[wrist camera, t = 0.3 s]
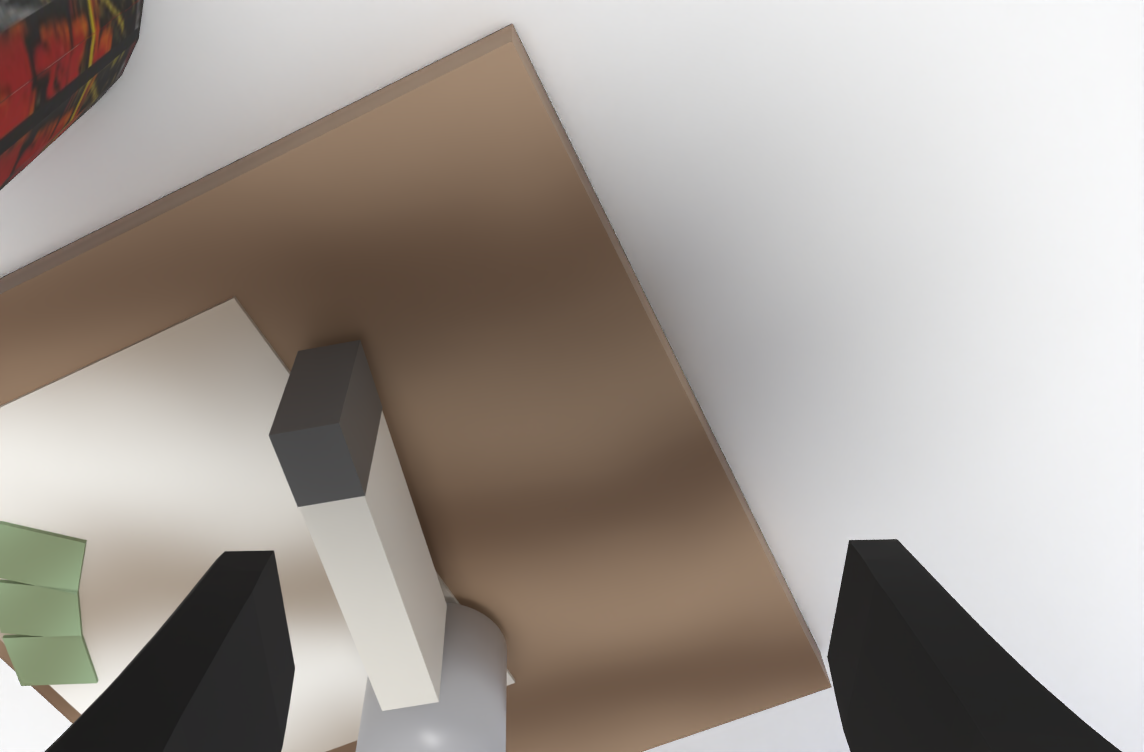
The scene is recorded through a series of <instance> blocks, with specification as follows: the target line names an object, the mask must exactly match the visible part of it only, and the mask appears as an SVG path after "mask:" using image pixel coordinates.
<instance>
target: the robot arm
mask: <svg viewBox="0 0 1144 752" xmlns="http://www.w3.org/2000/svg"><path fill="white" fill-rule="evenodd" d="M827 657H828V662H829V667H830V672H831V677H832V681H833V686H834V691H835V696H836V700H837V704H838V709H839V713H840V717H841V722H842V726H843V730H844V734H845V737H846V739H847V742H848V745H849V748H850V751H851V752H1121V751H1120V750H1119V749H1118V748H1116V747H1115V746H1114V745H1112V744H1111V743H1110V742H1108V741H1107V740H1106V739H1105V738H1103V737H1102V736H1101V735H1100V734H1099V733H1097V732H1096V731H1095V730H1094V729H1092V728H1091V727H1090V726H1089V725H1088V724H1086V723H1085V722H1084V721H1083V720H1082V719H1080V718H1079V717H1078V716H1077V715H1076V714H1075V713H1073V712H1072V711H1071V710H1070V709H1069V708H1068V707H1067V706H1065V705H1064V704H1063V703H1062V702H1061V701H1060V700H1059V699H1057V698H1056V697H1055V696H1054V695H1053V694H1052V693H1051V692H1049V691H1048V690H1047V689H1046V688H1045V687H1044V686H1043V685H1042V684H1040V683H1039V682H1038V681H1037V680H1036V679H1035V678H1034V677H1033V676H1032V675H1031V674H1030V673H1028V672H1027V671H1026V670H1025V669H1024V668H1023V667H1022V666H1021V665H1020V664H1019V663H1018V662H1017V661H1016V660H1015V659H1014V658H1013V657H1012V656H1011V655H1010V654H1009V653H1007V652H1006V651H1005V650H1004V649H1003V648H1002V647H1001V646H1000V645H999V644H998V643H997V642H996V641H995V640H994V639H993V638H992V637H991V636H990V635H989V634H988V633H987V632H986V631H985V630H984V629H983V628H982V627H981V626H980V625H979V624H978V623H977V622H976V621H975V620H974V619H973V618H972V617H971V616H970V615H969V614H968V613H967V612H966V611H965V610H964V609H963V608H962V607H961V606H960V604H959V603H958V602H957V601H956V600H955V599H954V598H953V597H952V596H951V595H950V594H949V593H948V592H947V591H946V590H945V589H944V588H943V587H942V586H941V585H940V584H939V583H938V582H937V581H936V579H935V578H934V577H933V576H932V575H931V574H930V573H929V572H928V571H927V570H926V569H925V568H924V567H923V566H922V565H921V564H920V563H919V562H918V561H917V560H916V558H915V557H914V556H913V555H912V554H911V553H910V552H909V551H908V550H907V549H906V548H905V547H904V546H903V545H902V544H901V543H900V542H899V541H898V540H897V539H889V540H849V544H848V550H847V555H846V560H845V566H844V571H843V576H842V581H841V587H840V592H839V597H838V603H837V608H836V613H835V619H834V624H833V629H832V635H831V640H830V645H829V651H828V656H827ZM294 673H295V664H294V659H293V653H292V647H291V642H290V636H289V631H288V625H287V620H286V614H285V608H284V603H283V597H282V592H281V586H280V580H279V575H278V569H277V564H276V558H275V552H274V550H268V551H225V552H223V553H222V554H221V555H220V556H219V557H218V558H217V559H216V560H215V562H214V563H213V564H212V565H211V567H210V568H209V569H208V570H207V571H206V573H205V574H204V575H203V576H202V578H201V579H200V580H199V581H198V583H197V584H196V585H195V586H194V588H193V589H192V590H191V591H190V593H189V594H188V595H187V596H186V597H185V599H184V600H183V601H182V602H181V604H180V605H179V606H178V607H177V608H176V610H175V611H174V612H173V613H172V614H171V616H170V617H169V618H168V619H167V620H166V622H165V623H164V624H163V625H162V626H161V628H160V629H159V630H158V631H157V632H156V634H155V635H154V636H153V637H152V638H151V639H150V640H149V642H148V643H147V644H146V645H145V646H144V647H143V648H142V650H141V651H140V652H139V653H138V654H137V655H136V656H135V657H134V659H133V660H132V661H131V662H130V663H129V664H128V665H127V667H126V668H125V669H124V670H123V671H122V672H121V673H120V675H119V676H118V677H117V678H116V679H115V680H114V681H113V682H112V683H111V684H110V686H109V687H108V688H107V689H106V690H105V691H104V692H103V693H102V694H101V695H100V696H99V697H98V698H97V699H96V700H95V701H94V702H93V703H92V704H91V705H90V706H89V707H88V708H87V709H86V710H85V712H84V713H83V714H82V715H81V716H80V717H79V718H78V719H77V720H76V721H75V722H74V723H73V724H72V725H71V726H70V727H69V728H68V729H67V730H66V731H65V732H64V733H63V734H62V735H61V736H60V737H59V738H58V739H57V740H56V741H55V742H54V743H53V744H52V745H51V746H50V747H49V748H48V749H47V750H46V751H45V752H281V751H282V747H283V742H284V736H285V730H286V725H287V719H288V713H289V706H290V700H291V693H292V686H293V680H294Z"/></svg>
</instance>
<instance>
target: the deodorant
mask: <svg viewBox="0 0 1144 752" xmlns="http://www.w3.org/2000/svg"><path fill="white" fill-rule="evenodd" d="M142 7H143V0H0V190H1V189H2V188H3V187H4V186H5V185H6V184H8V183H9V182H10V181H11V180H12V179H13V178H14V177H15V176H16V175H17V174H18V173H20V172H21V171H22V170H23V169H24V168H25V167H26V166H27V165H28V164H29V163H31V162H32V161H33V160H34V159H35V158H36V157H37V156H38V155H39V154H40V153H41V152H43V151H44V150H45V149H46V148H47V147H48V146H49V145H50V144H51V143H52V142H54V141H55V140H56V139H57V138H58V137H59V136H60V135H61V134H62V133H63V132H65V131H66V130H67V129H68V128H69V127H70V126H71V125H72V124H73V123H74V122H75V121H77V120H78V119H79V118H80V117H81V116H82V115H83V114H84V113H85V112H86V111H88V110H89V109H90V108H91V107H92V106H93V105H94V104H95V103H96V102H97V101H98V100H99V99H100V98H101V97H102V96H103V95H104V94H105V93H106V92H107V90H108V89H109V88H110V87H111V86H112V85H113V84H114V83H115V82H116V81H117V80H118V78H119V77H120V76H121V75H122V73H123V71H124V69H125V67H126V65H127V62H128V60H129V58H130V56H131V54H132V52H133V49H134V47H135V45H136V43H137V41H138V38H139V30H140V23H141V15H142Z"/></svg>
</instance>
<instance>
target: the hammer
mask: <svg viewBox="0 0 1144 752" xmlns="http://www.w3.org/2000/svg"><path fill="white" fill-rule="evenodd" d="M382 408H383V407H382V404H381V401H380V398H379V395H378V392H377V389H376V386H375V383H374V380H373V377H372V374H371V371H370V368H369V365H368V362H367V359H366V356H365V353H364V350H363V347H362V344H361V341H360V340H357V341H351V342H345V343H340V344H334V345H329V346H323V347H317V348H312V349H306V350H301V351H298V352H297V355H296V358H295V361H294V364H293V367H292V370H291V372H290V375H289V378H288V381H287V384H286V387H285V390H284V392H283V395H282V398H281V401H280V404H279V407H278V410H277V412H276V415H275V418H274V421H273V424H272V427H271V430H270V433H269V438H270V440H271V443H272V445H273V448H274V450H275V453H276V455H277V457H278V460H279V462H280V465H281V467H282V470H283V472H284V475H285V477H286V480H287V482H288V484H289V487H290V489H291V492H292V494H293V497H294V499H295V502H296V504H297V507H300V510H301V512H302V515H303V517H304V520H305V522H306V525H307V527H308V530H309V532H310V535H311V537H312V539H313V542H314V544H315V547H316V549H317V552H318V554H319V557H320V559H321V562H322V564H323V567H324V569H325V572H326V574H327V576H328V579H329V581H330V584H331V586H332V589H333V591H334V594H335V596H336V599H337V601H338V604H339V606H340V608H341V611H342V613H343V616H344V618H345V621H346V623H347V626H348V628H349V631H350V633H351V636H352V638H353V640H354V643H355V645H356V648H357V650H358V653H359V655H360V658H361V660H362V663H363V665H364V668H365V670H366V672H367V675H368V677H367V683H366V690H365V696H364V702H363V708H362V715H361V721H360V727H359V734H358V740H357V746H356V752H506V687H507V645H506V641H505V638H504V636H503V634H502V632H501V630H500V629H499V627H498V626H497V625H496V624H495V623H494V622H493V621H492V620H491V619H490V618H488V617H487V616H485V615H484V614H482V613H481V612H479V611H477V610H475V609H472V608H470V607H467V606H463V605H460V604H455V603H447V602H446V601H445V598H444V595H443V592H442V589H441V586H440V583H439V580H438V577H437V574H436V571H435V568H434V565H433V562H432V559H431V556H430V553H429V550H428V547H427V544H426V541H425V538H424V535H423V532H422V529H421V526H420V523H419V520H418V517H417V514H416V511H415V508H414V505H413V502H412V499H411V496H410V493H409V489H408V486H407V483H406V480H405V477H404V474H403V471H402V468H401V465H400V462H399V459H398V456H397V453H396V450H395V447H394V444H393V441H392V438H391V435H390V432H389V429H388V426H387V423H386V420H385V417H384V414H383V411H382Z"/></svg>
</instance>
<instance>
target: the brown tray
mask: <svg viewBox="0 0 1144 752" xmlns="http://www.w3.org/2000/svg"><path fill="white" fill-rule="evenodd" d="M357 340H360V341H361V344H362V347H363V350H364V353H365V356H366V359H367V362H368V365H369V368H370V371H371V374H372V377H373V380H374V383H375V386H376V389H377V392H378V395H379V398H380V401H381V404H382V407H383V408H382V411H383V414H384V417H385V420H386V423H387V426H388V429H389V432H390V435H391V438H392V441H393V444H394V447H395V450H396V453H397V456H398V459H399V462H400V465H401V468H402V471H403V474H404V477H405V480H406V483H407V486H408V489H409V493H410V496H411V499H412V502H413V505H414V508H415V511H416V514H417V517H418V520H419V523H420V526H421V529H422V532H423V535H424V538H425V541H426V544H427V547H428V550H429V553H430V556H431V559H432V562H433V565H434V568H435V571H436V574H437V577H438V580H439V583H440V586H441V589H442V592H443V595H444V598H445V601H446V602H447V603H455V604H460V605H463V606H467V607H470V608H472V609H475V610H477V611H479V612H481V613H482V614H484V615H485V616H487V617H488V618H490V619H491V620H492V621H493V622H494V623H495V624H496V625H497V626H498V627H499V629H500V630H501V632H502V634H503V636H504V638H505V641H506V645H507V687H506V752H643V751H646V750H649V749H651V748H654V747H657V746H660V745H663V744H666V743H669V742H672V741H675V740H678V739H681V738H684V737H687V736H690V735H692V734H695V733H698V732H701V731H704V730H707V729H710V728H713V727H716V726H719V725H722V724H725V723H728V722H731V721H734V720H736V719H739V718H742V717H745V716H748V715H751V714H754V713H757V712H760V711H763V710H766V709H769V708H772V707H775V706H777V705H780V704H783V703H786V702H789V701H792V700H795V699H798V698H801V697H804V696H807V695H810V694H813V693H816V692H818V691H821V690H824V689H827V688H830V687H831V684H830V681H829V678H828V675H827V672H826V669H825V666H824V663H823V659H822V656H821V653H820V651H819V649H818V647H817V645H816V643H815V641H814V638H813V636H812V634H811V632H810V630H809V628H808V626H807V624H806V622H805V620H804V618H803V616H802V614H801V612H800V610H799V608H798V606H797V604H796V602H795V600H794V598H793V596H792V594H791V592H790V589H789V587H788V585H787V583H786V581H785V579H784V577H783V575H782V573H781V571H780V569H779V567H778V565H777V563H776V561H775V559H774V557H773V555H772V553H771V551H770V549H769V547H768V545H767V543H766V540H765V538H764V536H763V534H762V532H761V530H760V528H759V526H758V524H757V522H756V520H755V518H754V516H753V514H752V512H751V510H750V508H749V506H748V504H747V502H746V500H745V498H744V496H743V494H742V492H741V489H740V487H739V485H738V483H737V481H736V479H735V477H734V475H733V473H732V471H731V469H730V467H729V465H728V463H727V461H726V459H725V457H724V455H723V453H722V451H721V449H720V447H719V445H718V443H717V440H716V438H715V436H714V434H713V432H712V430H711V428H710V426H709V424H708V422H707V420H706V418H705V416H704V414H703V412H702V410H701V408H700V406H699V404H698V402H697V400H696V398H695V396H694V394H693V392H692V389H691V387H690V385H689V383H688V381H687V379H686V377H685V375H684V373H683V371H682V369H681V367H680V365H679V363H678V361H677V359H676V357H675V355H674V353H673V351H672V349H671V347H670V345H669V343H668V340H667V338H666V336H665V334H664V332H663V330H662V328H661V326H660V324H659V322H658V320H657V318H656V316H655V314H654V312H653V310H652V308H651V306H650V304H649V302H648V300H647V298H646V296H645V294H644V291H643V289H642V287H641V285H640V283H639V281H638V279H637V277H636V275H635V273H634V271H633V269H632V267H631V265H630V263H629V261H628V259H627V257H626V255H625V253H624V251H623V249H622V247H621V245H620V243H619V240H618V238H617V236H616V234H615V232H614V230H613V228H612V226H611V224H610V222H609V220H608V218H607V216H606V214H605V212H604V210H603V208H602V206H601V204H600V202H599V200H598V198H597V196H596V194H595V191H594V189H593V187H592V185H591V183H590V181H589V179H588V177H587V175H586V173H585V171H584V169H583V167H582V165H581V163H580V161H579V159H578V157H577V155H576V153H575V151H574V149H573V147H572V145H571V142H570V140H569V138H568V136H567V134H566V132H565V130H564V128H563V126H562V124H561V122H560V120H559V118H558V116H557V114H556V112H555V110H554V108H553V106H552V104H551V102H550V100H549V98H548V96H547V94H546V91H545V89H544V87H543V85H542V83H541V81H540V79H539V77H538V75H537V73H536V71H535V69H534V67H533V65H532V63H531V61H530V59H529V57H528V55H527V53H526V51H525V49H524V47H523V45H522V42H521V40H520V38H519V36H518V34H517V32H516V30H515V28H514V26H513V24H511V25H509V26H507V27H505V28H503V29H501V30H499V31H497V32H495V33H493V34H491V35H489V36H487V37H485V38H483V39H481V40H479V41H477V42H475V43H473V44H471V45H469V46H467V47H465V48H463V49H461V50H459V51H457V52H455V53H453V54H451V55H449V56H447V57H445V58H443V59H441V60H439V61H437V62H435V63H433V64H431V65H428V66H426V67H424V68H422V69H420V70H418V71H416V72H414V73H412V74H410V75H408V76H406V77H404V78H402V79H400V80H398V81H396V82H394V83H392V84H390V85H388V86H386V87H384V88H382V89H380V90H378V91H376V92H374V93H372V94H370V95H368V96H366V97H364V98H362V99H360V100H358V101H356V102H354V103H352V104H350V105H348V106H346V107H344V108H342V109H340V110H338V111H336V112H334V113H332V114H330V115H328V116H326V117H324V118H322V119H320V120H318V121H316V122H314V123H312V124H310V125H308V126H306V127H304V128H302V129H300V130H298V131H296V132H294V133H292V134H290V135H288V136H286V137H284V138H282V139H280V140H278V141H276V142H274V143H272V144H270V145H268V146H266V147H264V148H262V149H260V150H258V151H256V152H254V153H252V154H250V155H248V156H246V157H244V158H242V159H240V160H238V161H236V162H234V163H232V164H230V165H228V166H226V167H224V168H222V169H220V170H218V171H216V172H214V173H212V174H210V175H208V176H206V177H203V178H201V179H199V180H197V181H195V182H193V183H191V184H189V185H187V186H185V187H183V188H181V189H179V190H177V191H175V192H173V193H171V194H169V195H167V196H165V197H163V198H161V199H159V200H157V201H155V202H153V203H151V204H149V205H147V206H145V207H143V208H141V209H139V210H137V211H135V212H133V213H131V214H129V215H127V216H125V217H123V218H121V219H119V220H117V221H115V222H113V223H111V224H109V225H107V226H105V227H103V228H101V229H99V230H97V231H95V232H93V233H91V234H89V235H87V236H85V237H83V238H81V239H79V240H77V241H75V242H73V243H71V244H69V245H67V246H65V247H63V248H61V249H59V250H57V251H55V252H53V253H51V254H49V255H47V256H45V257H43V258H41V259H39V260H37V261H35V262H33V263H31V264H29V265H27V266H25V267H23V268H21V269H19V270H17V271H15V272H13V273H11V274H9V275H7V276H5V277H3V278H1V279H0V658H1V659H2V660H3V661H4V662H6V663H7V664H8V665H9V666H10V667H11V668H12V669H13V670H14V671H15V672H16V674H17V676H18V679H19V681H20V684H21V686H32V687H33V688H34V689H35V690H36V691H37V692H39V693H40V694H41V695H42V696H43V697H44V698H45V699H46V700H47V701H48V702H50V703H51V704H52V705H53V706H54V707H55V708H56V709H57V710H58V711H59V712H61V713H62V714H63V715H64V716H65V717H66V718H67V719H68V720H69V721H70V722H72V723H74V722H75V721H76V720H77V719H78V718H79V717H80V716H81V715H82V714H83V713H84V712H85V710H86V709H87V708H88V707H89V706H90V705H91V704H92V703H93V702H94V701H95V700H96V699H97V698H98V697H99V696H100V695H101V694H102V693H103V692H104V691H105V690H106V689H107V688H108V687H109V686H110V684H111V683H112V682H113V681H114V680H115V679H116V678H117V677H118V676H119V675H120V673H121V672H122V671H123V670H124V669H125V668H126V667H127V665H128V664H129V663H130V662H131V661H132V660H133V659H134V657H135V656H136V655H137V654H138V653H139V652H140V651H141V650H142V648H143V647H144V646H145V645H146V644H147V643H148V642H149V640H150V639H151V638H152V637H153V636H154V635H155V634H156V632H157V631H158V630H159V629H160V628H161V626H162V625H163V624H164V623H165V622H166V620H167V619H168V618H169V617H170V616H171V614H172V613H173V612H174V611H175V610H176V608H177V607H178V606H179V605H180V604H181V602H182V601H183V600H184V599H185V597H186V596H187V595H188V594H189V593H190V591H191V590H192V589H193V588H194V586H195V585H196V584H197V583H198V581H199V580H200V579H201V578H202V576H203V575H204V574H205V573H206V571H207V570H208V569H209V568H210V567H211V565H212V564H213V563H214V562H215V560H216V559H217V558H218V557H219V556H220V555H221V554H222V553H223V552H225V551H268V550H274V552H275V558H276V564H277V569H278V575H279V580H280V586H281V592H282V597H283V603H284V608H285V614H286V620H287V625H288V631H289V636H290V642H291V647H292V653H293V659H294V664H295V673H294V680H293V686H292V693H291V700H290V706H289V713H288V719H287V725H286V730H285V736H284V742H283V747H282V751H281V752H356V746H357V740H358V734H359V727H360V721H361V715H362V708H363V702H364V696H365V690H366V683H367V677H368V675H367V672H366V670H365V668H364V665H363V663H362V660H361V658H360V655H359V653H358V650H357V648H356V645H355V643H354V640H353V638H352V636H351V633H350V631H349V628H348V626H347V623H346V621H345V618H344V616H343V613H342V611H341V608H340V606H339V604H338V601H337V599H336V596H335V594H334V591H333V589H332V586H331V584H330V581H329V579H328V576H327V574H326V572H325V569H324V567H323V564H322V562H321V559H320V557H319V554H318V552H317V549H316V547H315V544H314V542H313V539H312V537H311V535H310V532H309V530H308V527H307V525H306V522H305V520H304V517H303V515H302V512H301V510H300V507H297V504H296V502H295V499H294V497H293V494H292V492H291V489H290V487H289V484H288V482H287V480H286V477H285V475H284V472H283V470H282V467H281V465H280V462H279V460H278V457H277V455H276V453H275V450H274V448H273V445H272V443H271V440H270V438H269V433H270V430H271V427H272V424H273V421H274V418H275V415H276V412H277V410H278V407H279V404H280V401H281V398H282V395H283V392H284V390H285V387H286V384H287V381H288V378H289V375H290V372H291V370H292V367H293V364H294V361H295V358H296V355H297V352H298V351H301V350H306V349H312V348H317V347H323V346H329V345H334V344H340V343H345V342H351V341H357Z"/></svg>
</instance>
